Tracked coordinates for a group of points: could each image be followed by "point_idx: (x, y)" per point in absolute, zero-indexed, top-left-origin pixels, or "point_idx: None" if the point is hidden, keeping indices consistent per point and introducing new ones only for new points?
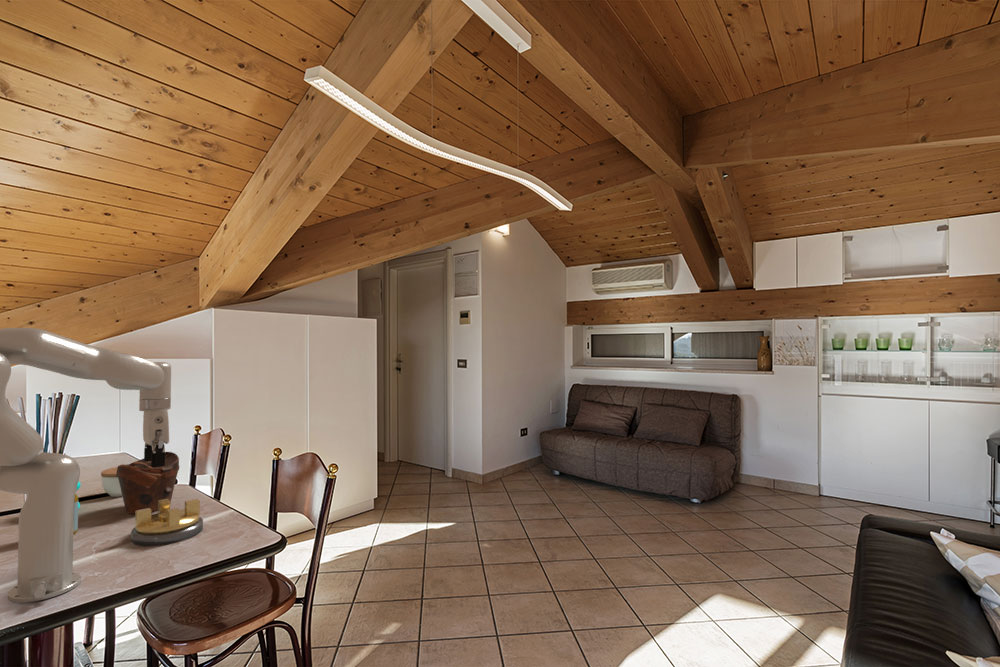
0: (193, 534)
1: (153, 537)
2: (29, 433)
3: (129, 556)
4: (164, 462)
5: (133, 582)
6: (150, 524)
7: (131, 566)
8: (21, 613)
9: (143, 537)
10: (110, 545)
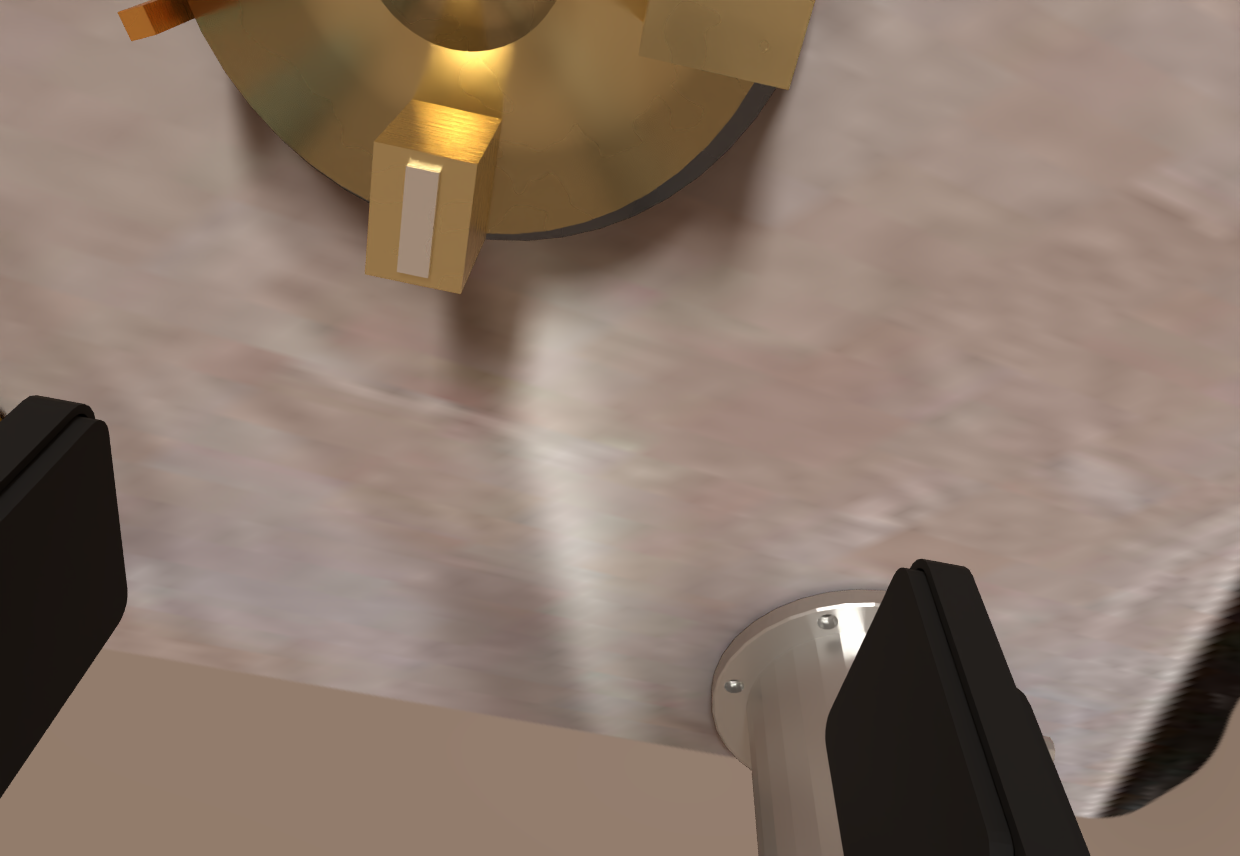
0: None
1: (716, 160)
2: None
3: (772, 324)
4: (988, 624)
5: (1225, 461)
6: (523, 134)
7: (968, 381)
8: None
9: (641, 211)
10: (418, 318)
